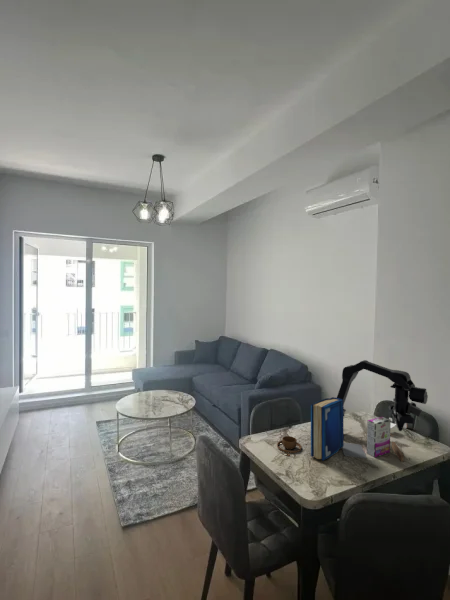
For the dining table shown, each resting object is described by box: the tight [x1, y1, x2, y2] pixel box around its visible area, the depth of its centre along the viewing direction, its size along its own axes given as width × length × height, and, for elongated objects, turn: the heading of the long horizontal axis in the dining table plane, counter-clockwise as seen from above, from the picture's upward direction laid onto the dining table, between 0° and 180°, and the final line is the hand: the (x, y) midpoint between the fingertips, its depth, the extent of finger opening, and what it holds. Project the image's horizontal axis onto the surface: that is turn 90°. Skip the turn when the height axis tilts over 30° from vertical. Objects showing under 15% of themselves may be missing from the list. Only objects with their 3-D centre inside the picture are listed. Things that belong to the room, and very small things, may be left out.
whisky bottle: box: [388, 417, 408, 430], centre depth 186 cm, size 10×6×30 cm
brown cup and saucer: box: [276, 435, 308, 457], centre depth 161 cm, size 18×20×6 cm
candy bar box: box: [366, 416, 392, 458], centre depth 160 cm, size 11×5×16 cm, turn 117°
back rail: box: [391, 441, 405, 463], centre depth 159 cm, size 1×14×3 cm, turn 168°
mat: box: [341, 442, 368, 459], centre depth 162 cm, size 10×14×1 cm
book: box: [310, 396, 345, 462], centre depth 159 cm, size 22×7×25 cm, turn 135°
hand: (400, 430), depth 158 cm, fingers closed
